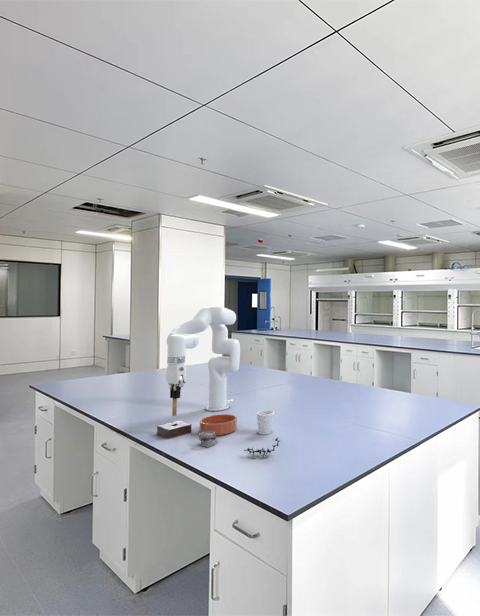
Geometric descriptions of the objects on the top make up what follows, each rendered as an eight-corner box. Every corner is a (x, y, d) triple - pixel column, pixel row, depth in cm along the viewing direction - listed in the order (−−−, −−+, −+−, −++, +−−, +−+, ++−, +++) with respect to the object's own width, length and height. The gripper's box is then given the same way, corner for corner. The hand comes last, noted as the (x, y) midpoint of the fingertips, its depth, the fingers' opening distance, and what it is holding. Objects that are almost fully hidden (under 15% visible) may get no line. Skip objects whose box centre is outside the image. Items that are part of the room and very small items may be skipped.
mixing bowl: (223, 423, 198) (223, 412, 198) (243, 429, 190) (243, 418, 190) (192, 432, 184) (192, 420, 184) (212, 439, 176) (212, 426, 176)
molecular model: (245, 453, 159) (246, 434, 159) (281, 453, 161) (282, 434, 161) (241, 460, 153) (241, 440, 153) (278, 459, 155) (279, 439, 155)
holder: (179, 428, 189) (179, 420, 189) (191, 432, 184) (191, 424, 184) (157, 434, 180) (157, 425, 180) (168, 438, 175) (168, 429, 175)
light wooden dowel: (175, 414, 183) (176, 386, 183) (177, 415, 182) (178, 386, 182) (171, 415, 182) (172, 386, 182) (173, 416, 181) (174, 387, 181)
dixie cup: (256, 436, 181) (257, 415, 181) (254, 430, 189) (255, 411, 189) (274, 433, 185) (275, 413, 185) (272, 428, 193) (272, 409, 193)
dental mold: (205, 440, 174) (205, 429, 174) (219, 441, 174) (219, 430, 174) (195, 446, 166) (195, 435, 166) (210, 447, 166) (210, 436, 166)
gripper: (193, 361, 181) (191, 398, 181) (175, 358, 189) (174, 394, 189) (177, 362, 175) (176, 402, 175) (159, 359, 183) (158, 397, 183)
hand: (175, 397), depth 182 cm, fingers closed on light wooden dowel, 1 cm apart
